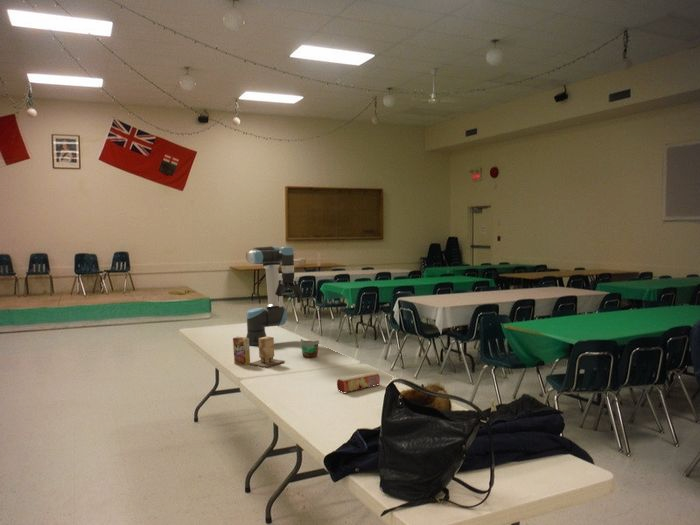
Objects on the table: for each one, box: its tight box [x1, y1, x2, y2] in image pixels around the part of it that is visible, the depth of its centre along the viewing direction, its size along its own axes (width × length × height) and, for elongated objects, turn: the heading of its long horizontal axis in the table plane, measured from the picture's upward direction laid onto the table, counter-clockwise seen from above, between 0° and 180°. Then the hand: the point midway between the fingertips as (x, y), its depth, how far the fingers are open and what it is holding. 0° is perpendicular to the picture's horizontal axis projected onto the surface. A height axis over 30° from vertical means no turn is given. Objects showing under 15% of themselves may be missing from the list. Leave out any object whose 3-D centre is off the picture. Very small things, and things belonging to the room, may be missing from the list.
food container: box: [299, 338, 320, 359], centre depth 325 cm, size 12×6×10 cm, turn 62°
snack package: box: [336, 371, 381, 393], centre depth 261 cm, size 21×7×7 cm, turn 123°
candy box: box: [232, 336, 251, 366], centre depth 315 cm, size 9×4×15 cm, turn 60°
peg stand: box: [248, 357, 286, 369], centre depth 313 cm, size 14×14×4 cm
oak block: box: [258, 335, 275, 359], centre depth 313 cm, size 6×6×11 cm
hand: (289, 307), depth 333 cm, fingers open, 13 cm apart
